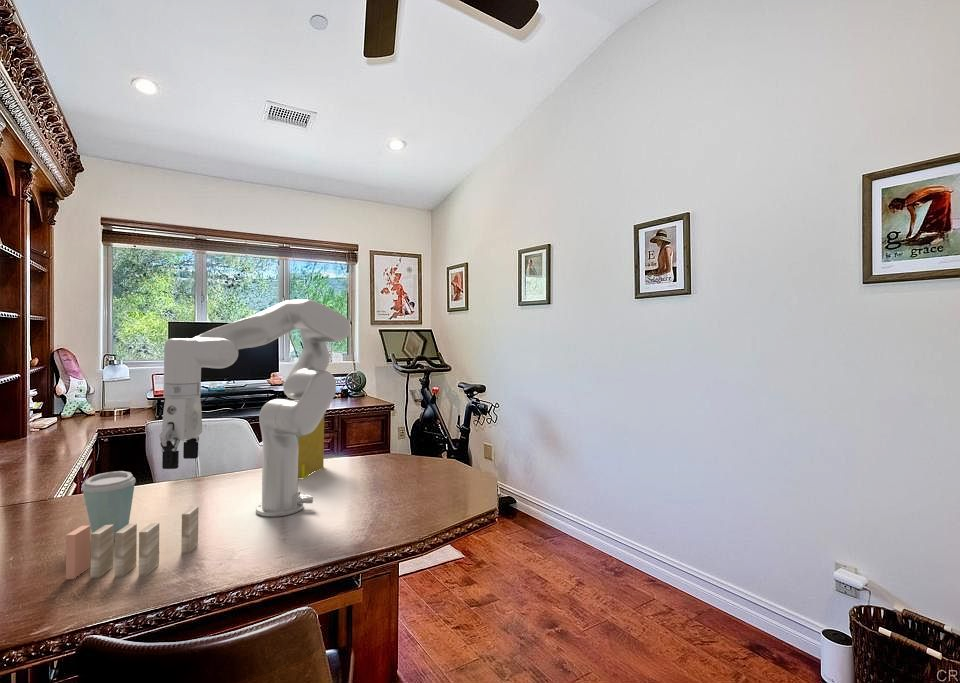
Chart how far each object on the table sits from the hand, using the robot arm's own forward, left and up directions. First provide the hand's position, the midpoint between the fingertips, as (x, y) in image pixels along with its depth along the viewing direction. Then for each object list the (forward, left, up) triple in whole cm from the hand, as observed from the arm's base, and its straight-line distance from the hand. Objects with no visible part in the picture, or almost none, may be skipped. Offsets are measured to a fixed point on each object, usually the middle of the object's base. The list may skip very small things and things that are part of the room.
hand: (180, 463), depth 117 cm
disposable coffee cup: (+19, -7, -20) cm, 28 cm away
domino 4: (+1, +12, -20) cm, 23 cm away
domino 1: (+14, +12, -20) cm, 27 cm away
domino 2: (+10, +12, -20) cm, 25 cm away
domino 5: (-3, +2, -20) cm, 20 cm away
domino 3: (+5, +12, -20) cm, 24 cm away
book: (-17, -63, -20) cm, 68 cm away
